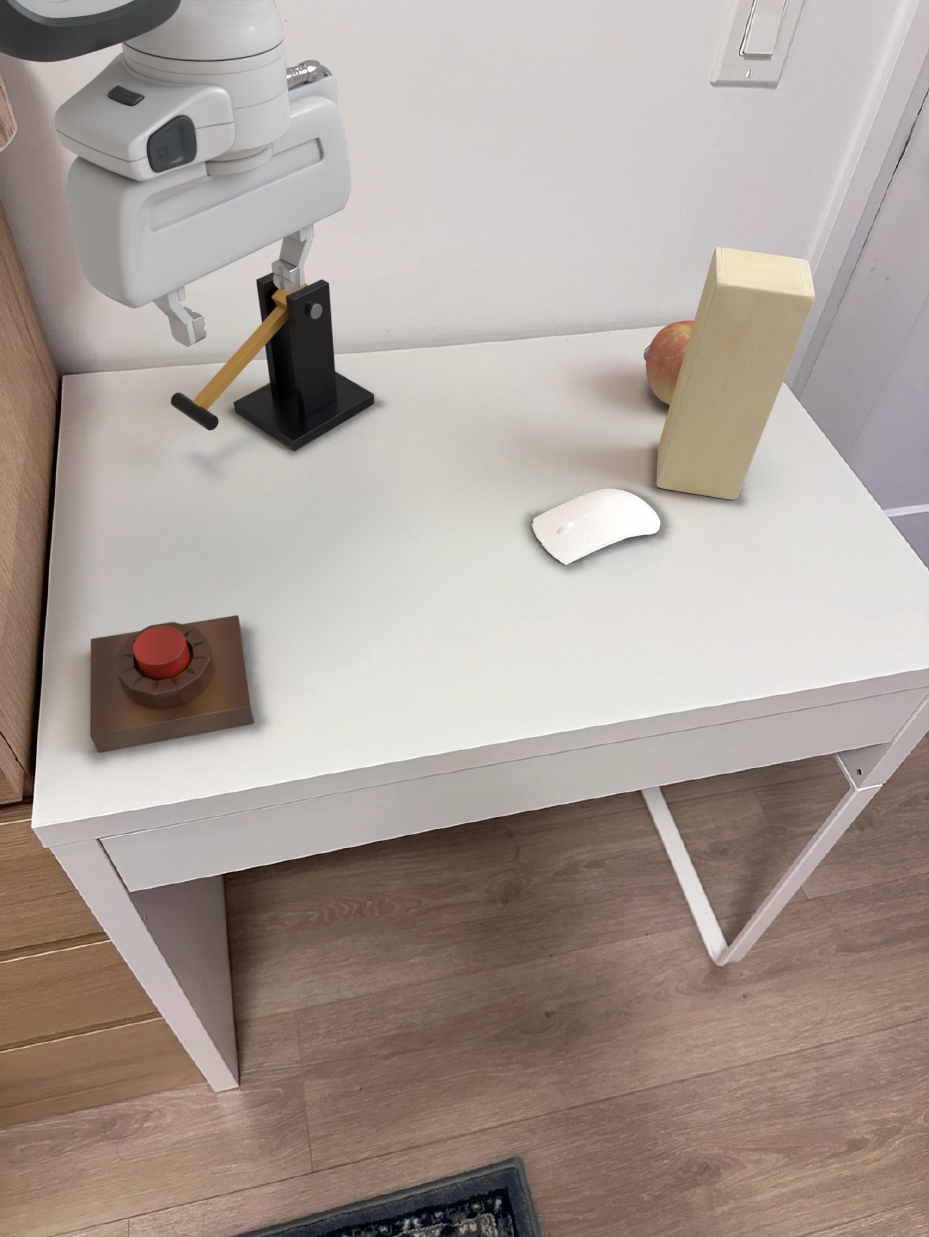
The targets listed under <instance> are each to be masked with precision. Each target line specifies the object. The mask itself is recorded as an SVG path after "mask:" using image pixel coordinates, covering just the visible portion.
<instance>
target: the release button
mask: <svg viewBox="0 0 929 1237" xmlns="http://www.w3.org/2000/svg"><path fill="white" fill-rule="evenodd" d="M133 652H134V655H135V658H136V660H137V663H138V666H139V668H140V670H141V672H142V673H143V674H144V675H146V676H147V677H149V678H152V679H158V680H162V679H168V678H172V677H174V676H176V675H178V674H180V673H181V672H182V671H183V670H184V669H185V668H186V667H187V665H188V663H189V660H190V653H189V649H188V646H187V643H186V639H185V637H184V635H183V633H182V632H181V631H180V630H178V629H176V628H174V627H170V626H157V627H153V628H151V629H148V630H146V631H145V632H143V633H142V634H141V635H140V636H139V637H138V638H137V639H136V641H135V643H134V647H133Z"/></svg>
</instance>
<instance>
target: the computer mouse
mask: <svg viewBox="0 0 929 1237" xmlns="http://www.w3.org/2000/svg"><path fill="white" fill-rule="evenodd" d="M531 526H532V530H533V534H534V535H535V537H536V538H537V540H538V541H539V542H540V543H541V546H542V547H543V548H544V549H545V550H546V551H547V552H548V554H550V555H551V556H552V557H553V558H554V559H555V560H558V561H559V563H561V564H563V565H564V566H565V565H566V566H567V565H569V564H571V563H573V562H575V561H577V560H579V559H580V560H581V558H583V557H586V556H587V555H590V554H591V553H594V552H597V551H598V550H601V549H602V548H605V547H607V546H609V545H613V544H615V543H618V542H621V541H623V540H625V539H627V538H628V539H629V538H632V537H639V536H643V535H644V536H645V535H649V536H650V535H654V534H656V533H658V532H659V531H660V528H661V520H660V517H659V515H658V514H657V512H656V511H655V510H654V509H653V507H651V505H649V503H647V502H646V501H645V500H643V499H642V498H641V497H639V496H637V495H635V494H634V493H631V492H630V491H627V490H622V489H618V488H601V489H597V490H594V491H590V492H588V493H585V494H582V495H579V496H577V497H575V498H572V499H570V500H568V501H565V502H563V503H561V504H559V505H557V506H555V507H553V508H551V509H548V510H547V511H544V512H542V513H540V514H539V515H537V516H536V517H533V519H532V523H531Z"/></svg>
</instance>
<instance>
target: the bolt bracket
mask: <svg viewBox="0 0 929 1237" xmlns="http://www.w3.org/2000/svg"><path fill="white" fill-rule="evenodd" d="M273 276H274V273H273V272H272V271H271V272H270V273H267V274H265V275H263V276H261V277H259V278H256V279H255V283H256V290H257V297H258V304H259V312H260V319H261V324H262V323H263V322H264V320H265V319H266V318H267V317H268V316H269V315H270V314H271V313H272V312H273V310H274V309H275V308H276V307H277V305H276V304H275V302H274V300H273V299H272V296H273V295H274V294H275V293H276V291H277V290H278V289H279V288H277V287H276V286H275V284H274V282H273ZM307 285H308V286H306V287H304V288H302V289H300V290H298V291H296V292H293V293H291V294H289V295H287V296H286V304H287V313H288V320H287V321H286V322H285V323H284V324H283V325H282V326H281V328H280V329H279V330H278V331H277V332H276V333H275V334H274V335H273V337H272V338H271V339H270V340H269V341H268V342H267V343H266V344H265V346H264V350H265V356H266V364H267V371H268V378H269V382H268V383H267V384H265V385H263V386H261V387H259V388H257V389H255V390H253V391H251V392H250V393H248V394H246V395H244V396H242V397H240V398H239V399H237V400H235V401H233V408H234V412H235V414H238V415H239V416H241V417H242V418H244V419H245V420H247V421H249V422H250V423H251V424H252V425H255V426H256V427H258V428H259V429H261V430H262V431H263V432H265V433H267V434H268V435H270V436H271V437H273V438H274V439H275V440H277V441H279V442H280V443H282V444H283V445H284V446H286V447H288V448H289V449H291V450H293V451H295V452H296V451H297V450H299V449H301V448H302V447H304V446H306V445H308V444H309V443H311V442H312V441H314V440H316V439H318V438H320V437H321V436H323V435H324V434H326V433H327V432H328V433H329V431H331V430H332V429H334V428H336V427H338V426H339V425H341V424H343V423H344V422H346V421H348V420H349V419H351V418H353V417H354V416H356V415H358V414H359V413H361V412H363V411H364V410H366V409H368V408H369V407H371V406H373V405H375V393H373V392H372V391H369V389H367V388H365V387H363V386H361V385H360V384H358V383H356V382H354V381H353V380H351V379H349V378H348V377H346V376H344V375H343V374H341V373H339V372H337V371H336V363H335V362H336V361H335V349H334V335H333V320H332V306H331V305H332V304H331V290H330V289H331V288H330V283H329V282H328V281H326V280H324V278H323V279H322V278H321V279H318V280H316V281H315V282H312V283H310V284H307Z"/></svg>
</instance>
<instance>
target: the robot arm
mask: <svg viewBox="0 0 929 1237" xmlns="http://www.w3.org/2000/svg"><path fill="white" fill-rule="evenodd" d="M119 44H120V45H121V49H122V52H121V53H119V54H117V55H116V56H115V57H114V58H113V59H112V60H111V61H110V62H109V63H108V64H107V66H105V67H104V68H103V69H102V70H101V71H100V72H99V73H98V74H97V75H96V76H95V77H94V78H93V79H91V80H90V81H89V82H88V83H86V84H85V85H84V86H83V87H82V88H81V89H79V90H78V91H77V92H75V93H74V94H73V95H71V97H69V98H68V99H67V100H66V101H64V102H63V103H62V104H61V105H59V107H57V109H56V110H55V113H54V118H53V122H54V128H55V132H56V135H57V137H58V140H59V142H60V144H61V145H62V146H63V148H65V149H67V150H68V151H70V152H71V153H73V154H74V155H75V156H77V157H75V158H74V160H73V161H72V163H71V164H70V166H69V169H68V172H67V177H66V200H67V206H68V212H69V218H70V223H71V228H72V233H73V238H74V243H75V247H76V250H77V254H78V258H79V262H80V266H81V268H82V271H83V274H84V277H85V279H86V280H87V282H88V283H89V285H91V286H92V288H94V289H95V290H97V291H98V292H99V293H101V294H103V295H104V296H106V297H108V298H109V299H111V300H112V301H115V302H117V303H119V304H120V305H123V306H124V307H128V308H130V309H139V308H141V307H143V306H146V305H147V304H150V303H152V302H153V304H154V305H156V307H157V308H158V309H159V310H160V311H161V312H162V313H163V314H164V315H165V316H167V318H168V324H169V327H170V332H171V335H172V337H173V339H174V340H175V341H176V342H178V343H180V344H182V345H183V346H185V347H187V348H189V347H191V346H193V345H194V344H195V345H196V344H197V343H199V342H200V341H202V340H204V339H206V337H207V330H206V329H205V326H206V324H205V318H204V315H202V314H200V313H198V312H197V311H193V310H192V309H191V308H189V307H187V306H183V305H182V304H181V302H183V301H185V300H186V299H187V292H186V289H185V286H187V285H189V284H191V283H193V282H195V281H197V280H199V279H201V278H204V277H206V276H208V275H209V274H212V273H214V272H216V271H218V270H221V269H223V268H225V267H226V266H228V265H231V264H233V263H235V262H237V261H239V260H241V259H243V258H246V257H248V256H249V255H252V254H254V253H255V252H258V251H260V250H262V249H263V248H266V247H268V246H270V245H272V244H274V243H276V242H278V241H280V240H282V242H281V247H280V252H279V257H278V259H276V260H274V261H273V262H271V273H272V272H273V273H274V276H273V282H274V284H275V286H276V287H277V288H279V289H281V290H284V291H285V292H287V293H290V292H292V291H293V290H295V289H297V288H300V287H301V286H303V285H304V284H305V283H306V278H305V277H306V276H305V264H306V261H307V258H308V255H309V252H310V250H311V246H312V244H313V241H314V239H315V228H314V224H315V223H318V222H320V221H322V220H324V219H326V218H328V217H330V216H332V215H334V214H336V213H339V212H340V211H343V210H344V209H346V206H347V204H348V201H349V198H350V195H351V193H352V176H351V175H352V174H351V165H350V156H349V149H348V142H347V134H346V130H345V124H344V119H343V116H342V115H341V111H340V109H339V98H338V96H339V95H338V83H337V80H336V78H335V76H334V75H333V74H332V72H331V70H330V69H328V67H327V66H325V65H323V64H321V62H319V60H317V59H306V60H303V61H302V62H299V63H298V64H297V65H294V66H290V67H287V60H286V45H285V44H286V43H285V32H284V26H283V22H282V19H281V15H280V12H279V9H278V7H277V3H276V0H0V53H2V54H4V55H7V56H8V57H9V56H10V57H12V58H15V59H19V60H22V61H28V62H35V63H56V62H62V61H67V60H71V59H74V58H79V57H82V56H85V55H88V54H92V53H95V52H98V51H101V50H104V49H107V48H109V47H113V46H117V45H119Z"/></svg>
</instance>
